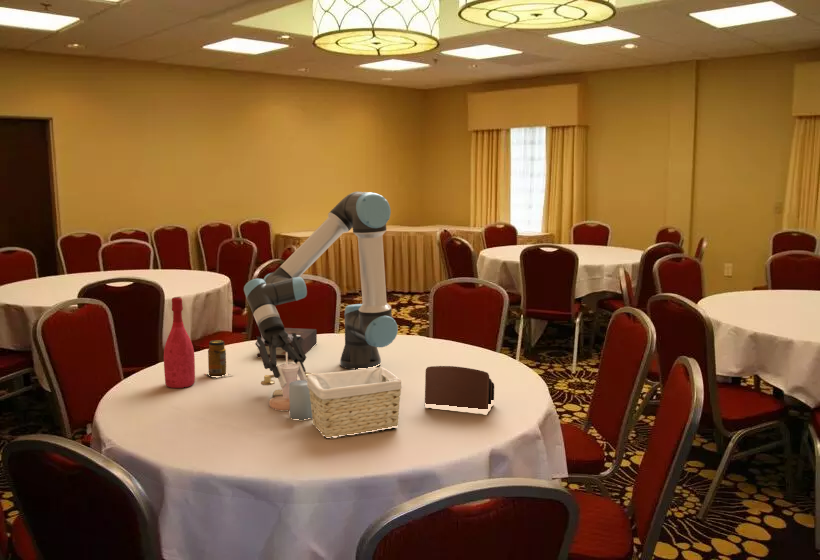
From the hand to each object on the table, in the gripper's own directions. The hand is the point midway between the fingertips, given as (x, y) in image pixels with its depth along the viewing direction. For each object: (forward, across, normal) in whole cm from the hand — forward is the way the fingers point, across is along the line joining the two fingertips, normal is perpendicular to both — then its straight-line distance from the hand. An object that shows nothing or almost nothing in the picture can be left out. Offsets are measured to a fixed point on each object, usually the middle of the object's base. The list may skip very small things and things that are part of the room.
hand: (294, 383), depth 218 cm
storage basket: (+23, -6, +12) cm, 26 cm away
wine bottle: (-25, +20, -36) cm, 48 cm away
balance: (-4, -4, -14) cm, 16 cm away
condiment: (-28, +5, -39) cm, 48 cm away
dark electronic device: (-40, -32, -51) cm, 72 cm away
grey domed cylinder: (+11, +2, 0) cm, 11 cm away
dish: (+3, 0, -8) cm, 8 cm away
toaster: (+26, -41, +15) cm, 51 cm away
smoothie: (+1, 0, -6) cm, 6 cm away
